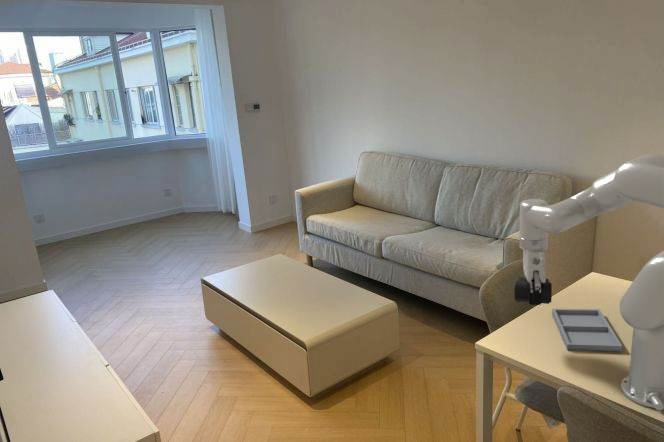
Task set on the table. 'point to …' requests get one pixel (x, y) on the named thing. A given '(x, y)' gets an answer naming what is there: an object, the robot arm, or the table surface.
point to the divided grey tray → (586, 330)
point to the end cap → (524, 287)
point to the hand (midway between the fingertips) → (532, 297)
